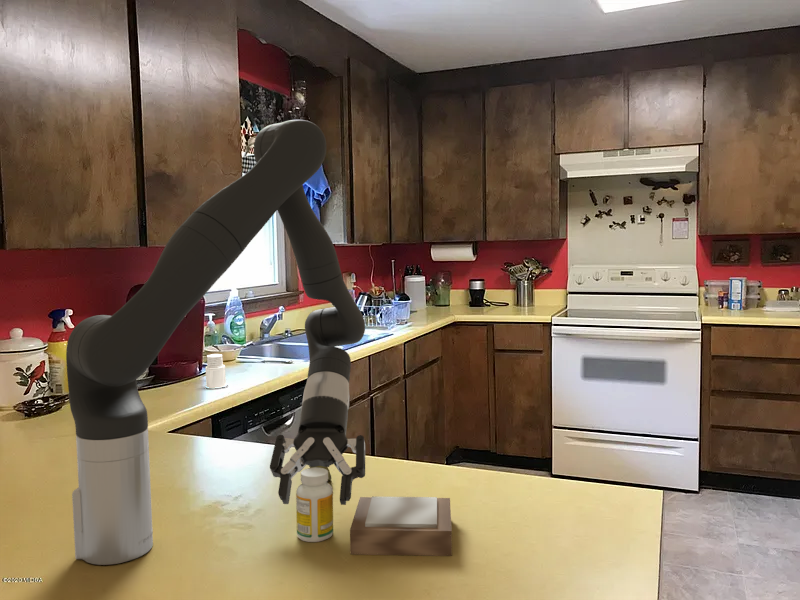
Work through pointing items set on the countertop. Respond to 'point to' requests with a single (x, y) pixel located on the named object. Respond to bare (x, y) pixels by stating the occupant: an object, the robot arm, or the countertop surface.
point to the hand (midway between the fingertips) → (313, 502)
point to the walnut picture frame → (402, 526)
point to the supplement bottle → (314, 506)
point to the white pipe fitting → (215, 371)
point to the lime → (326, 469)
